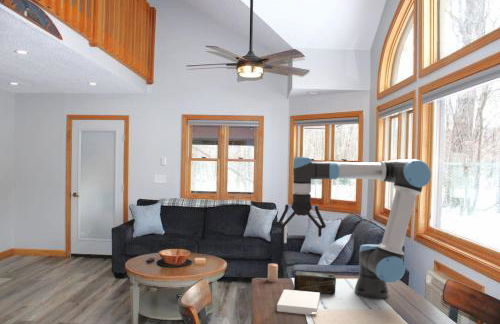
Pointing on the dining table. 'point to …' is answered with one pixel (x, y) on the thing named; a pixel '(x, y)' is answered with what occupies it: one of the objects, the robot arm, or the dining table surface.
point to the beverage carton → (315, 282)
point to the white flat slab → (298, 302)
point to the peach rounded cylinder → (272, 272)
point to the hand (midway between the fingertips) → (301, 243)
